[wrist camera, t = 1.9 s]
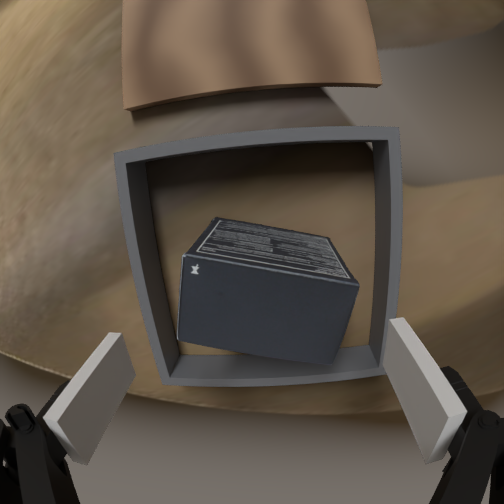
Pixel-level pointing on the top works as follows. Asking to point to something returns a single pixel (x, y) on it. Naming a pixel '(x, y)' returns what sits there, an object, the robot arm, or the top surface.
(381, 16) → the top surface
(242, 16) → the walnut board
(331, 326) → the small box
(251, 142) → the bin
